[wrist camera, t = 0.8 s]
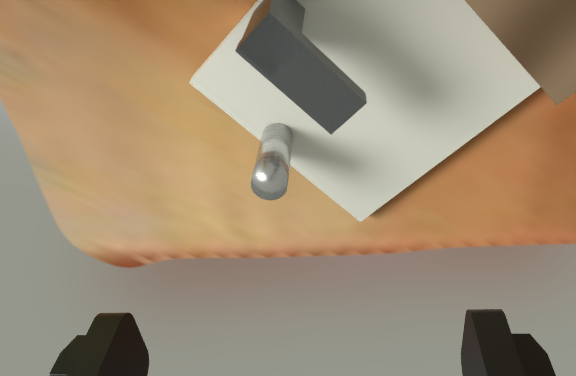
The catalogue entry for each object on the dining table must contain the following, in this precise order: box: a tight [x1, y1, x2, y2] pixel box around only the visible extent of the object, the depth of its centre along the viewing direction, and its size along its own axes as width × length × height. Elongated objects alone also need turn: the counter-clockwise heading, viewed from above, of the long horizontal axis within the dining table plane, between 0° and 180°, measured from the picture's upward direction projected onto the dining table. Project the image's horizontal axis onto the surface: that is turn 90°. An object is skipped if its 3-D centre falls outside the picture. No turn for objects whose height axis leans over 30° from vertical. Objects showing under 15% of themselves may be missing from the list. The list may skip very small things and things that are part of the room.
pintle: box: [251, 123, 293, 200], centre depth 31 cm, size 2×2×6 cm
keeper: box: [235, 0, 367, 135], centre depth 27 cm, size 2×6×7 cm, turn 48°
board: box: [189, 0, 540, 222], centre depth 30 cm, size 20×15×1 cm
